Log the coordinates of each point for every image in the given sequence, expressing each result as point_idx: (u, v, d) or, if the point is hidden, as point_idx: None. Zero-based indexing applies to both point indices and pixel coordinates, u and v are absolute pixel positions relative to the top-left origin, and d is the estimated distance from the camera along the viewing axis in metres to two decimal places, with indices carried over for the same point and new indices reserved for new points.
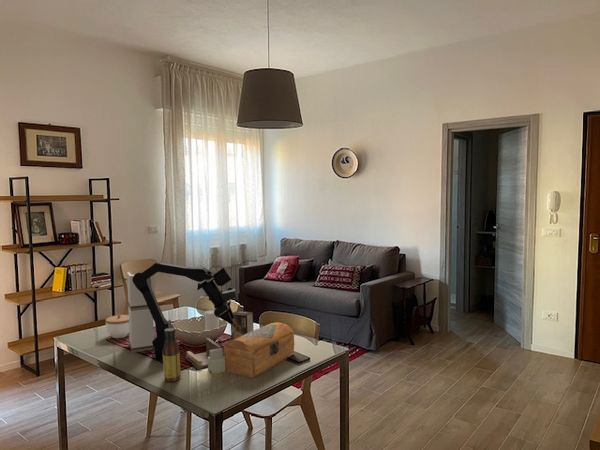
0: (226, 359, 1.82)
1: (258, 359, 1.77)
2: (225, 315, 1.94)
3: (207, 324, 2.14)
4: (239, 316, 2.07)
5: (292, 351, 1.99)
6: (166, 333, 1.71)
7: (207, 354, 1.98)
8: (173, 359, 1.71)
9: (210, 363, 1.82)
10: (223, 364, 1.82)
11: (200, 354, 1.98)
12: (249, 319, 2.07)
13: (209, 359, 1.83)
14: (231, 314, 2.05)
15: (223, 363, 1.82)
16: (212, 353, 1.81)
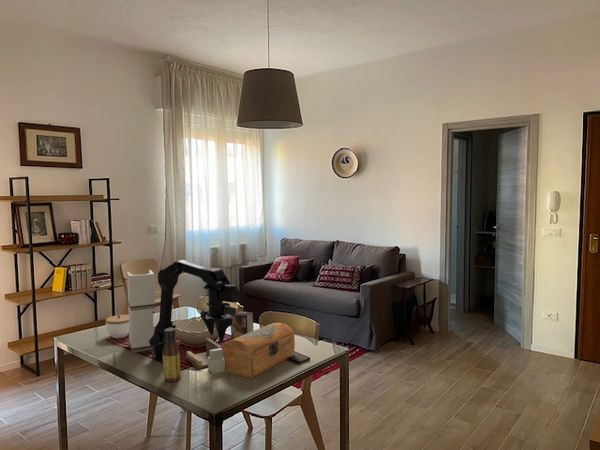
0: (225, 359, 1.82)
1: (256, 359, 1.77)
2: (222, 329, 1.78)
3: None
4: (239, 316, 2.07)
5: (292, 351, 1.98)
6: (166, 333, 1.71)
7: (207, 354, 1.98)
8: (173, 359, 1.71)
9: (210, 363, 1.82)
10: (223, 364, 1.82)
11: (200, 354, 1.98)
12: (249, 319, 2.07)
13: (209, 359, 1.83)
14: (212, 330, 1.87)
15: (223, 363, 1.82)
16: (212, 353, 1.81)
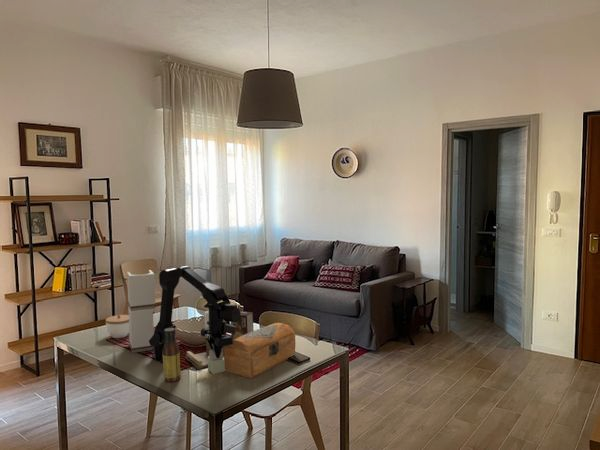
0: (225, 359, 1.82)
1: (256, 359, 1.77)
2: None
3: (207, 324, 2.14)
4: None
5: (293, 352, 1.98)
6: (166, 333, 1.71)
7: (207, 354, 1.98)
8: (173, 359, 1.71)
9: (210, 363, 1.82)
10: (223, 364, 1.82)
11: (200, 354, 1.98)
12: (249, 319, 2.07)
13: (209, 358, 1.83)
14: None
15: (223, 363, 1.82)
16: (212, 353, 1.81)
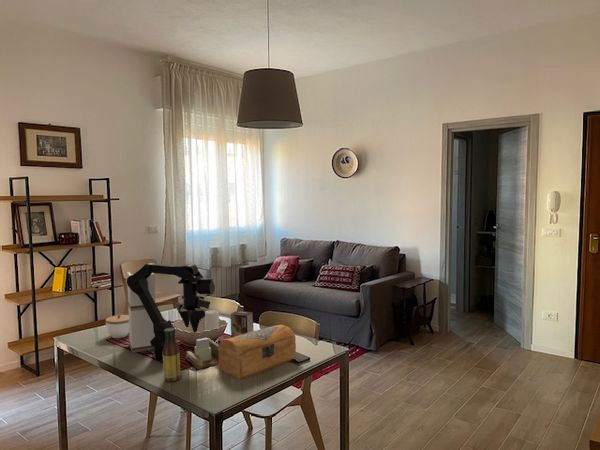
0: (220, 358, 1.84)
1: (246, 360, 1.76)
2: (195, 321, 1.90)
3: (207, 324, 2.14)
4: (239, 316, 2.07)
5: (293, 355, 1.94)
6: (166, 333, 1.71)
7: None
8: (173, 359, 1.71)
9: (197, 352, 1.92)
10: (209, 352, 1.92)
11: None
12: (249, 319, 2.07)
13: (196, 348, 1.93)
14: (187, 322, 1.99)
15: (209, 352, 1.92)
16: (199, 342, 1.91)
